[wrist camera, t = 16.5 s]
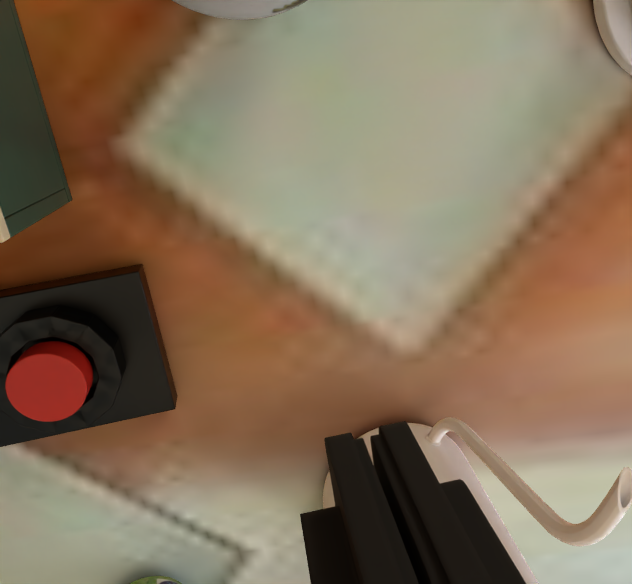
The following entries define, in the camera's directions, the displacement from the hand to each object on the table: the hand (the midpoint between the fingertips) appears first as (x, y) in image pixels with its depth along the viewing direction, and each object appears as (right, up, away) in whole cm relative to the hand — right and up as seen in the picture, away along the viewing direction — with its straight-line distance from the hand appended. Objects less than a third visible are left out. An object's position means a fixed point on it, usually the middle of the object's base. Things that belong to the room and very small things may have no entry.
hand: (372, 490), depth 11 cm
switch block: (-16, 0, +22) cm, 28 cm away
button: (-16, -1, +19) cm, 25 cm away
